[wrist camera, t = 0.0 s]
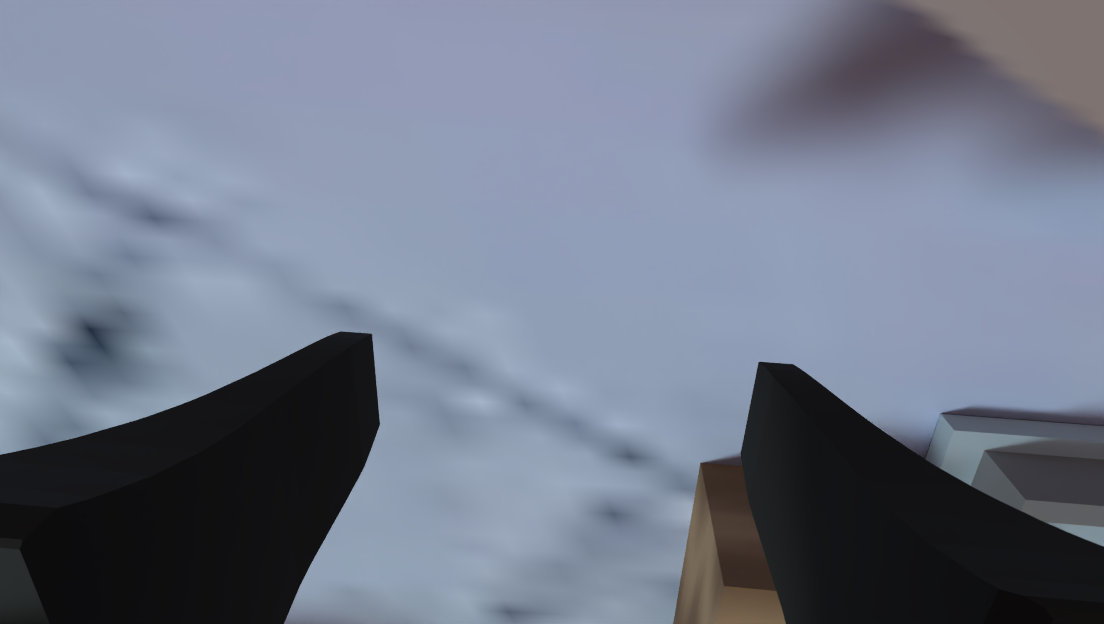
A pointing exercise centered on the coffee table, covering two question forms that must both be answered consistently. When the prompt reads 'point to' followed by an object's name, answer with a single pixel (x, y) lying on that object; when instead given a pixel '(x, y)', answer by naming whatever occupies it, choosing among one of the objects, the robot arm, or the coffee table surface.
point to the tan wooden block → (725, 557)
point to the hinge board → (1029, 467)
